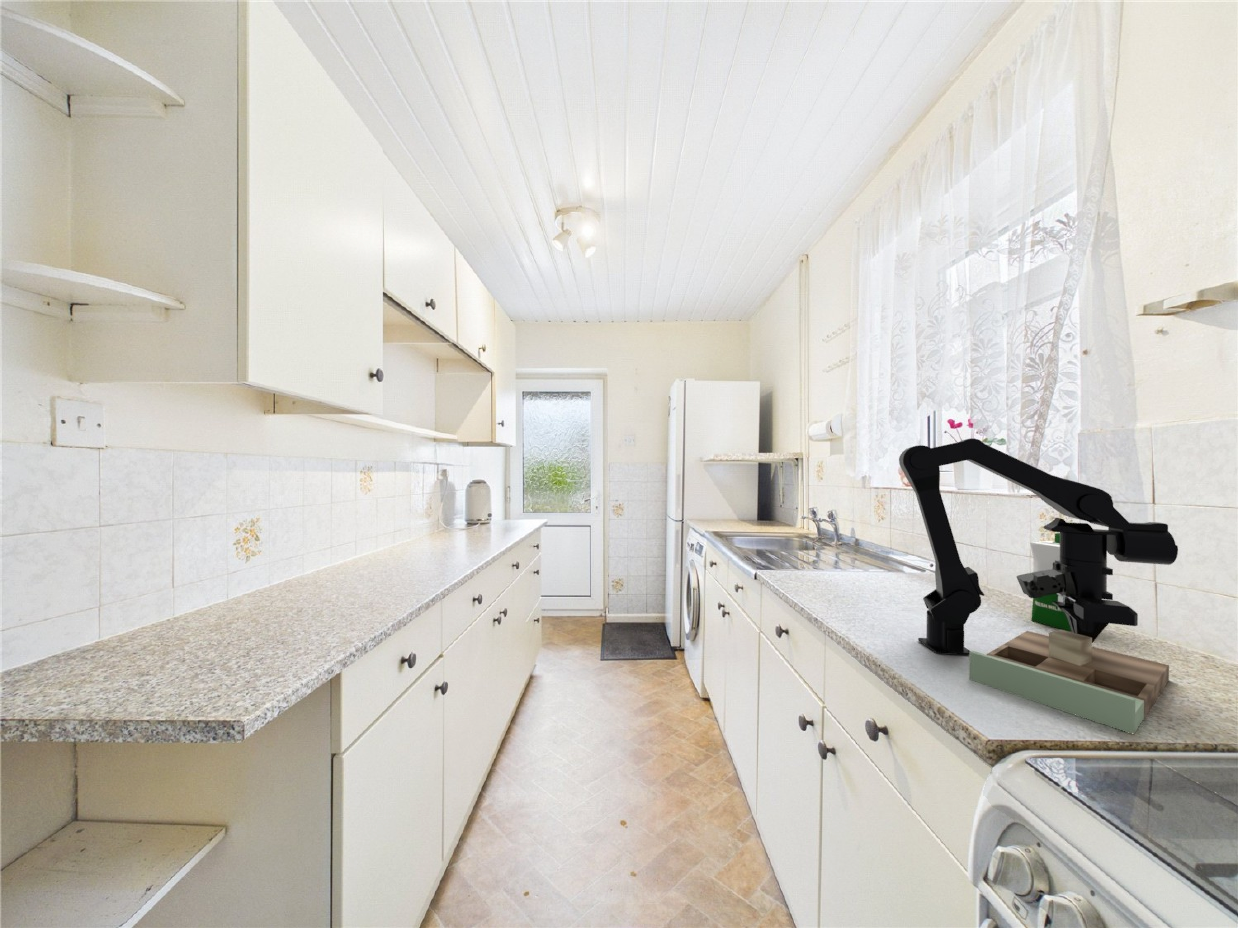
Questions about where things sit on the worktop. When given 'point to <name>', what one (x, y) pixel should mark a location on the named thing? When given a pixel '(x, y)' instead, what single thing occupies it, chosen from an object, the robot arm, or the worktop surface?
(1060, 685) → the pad
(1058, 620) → the milk carton
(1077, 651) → the maple block
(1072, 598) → the robot arm
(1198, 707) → the worktop surface
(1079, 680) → the trap board
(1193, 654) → the worktop surface
